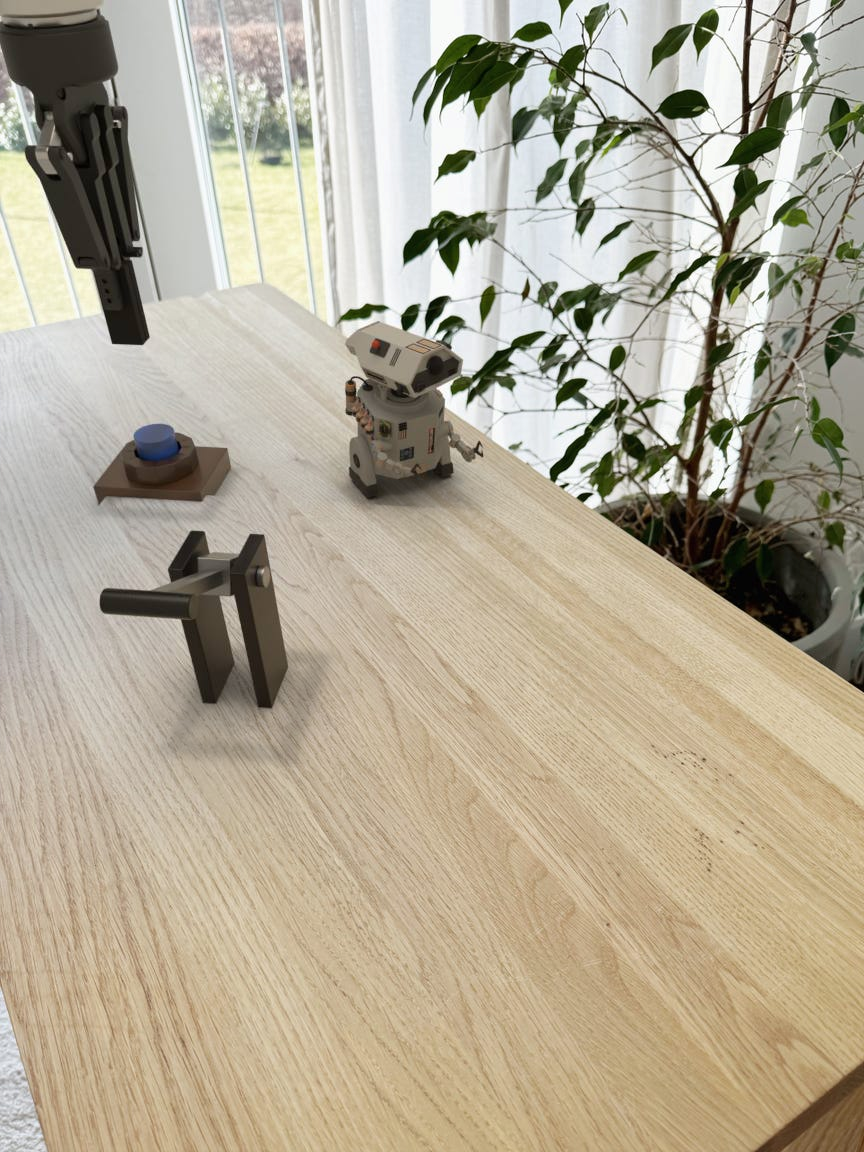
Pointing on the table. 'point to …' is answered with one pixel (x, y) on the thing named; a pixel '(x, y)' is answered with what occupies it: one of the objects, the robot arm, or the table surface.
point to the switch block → (165, 473)
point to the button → (155, 442)
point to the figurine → (400, 406)
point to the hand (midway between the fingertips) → (130, 340)
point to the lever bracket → (254, 614)
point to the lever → (174, 592)
